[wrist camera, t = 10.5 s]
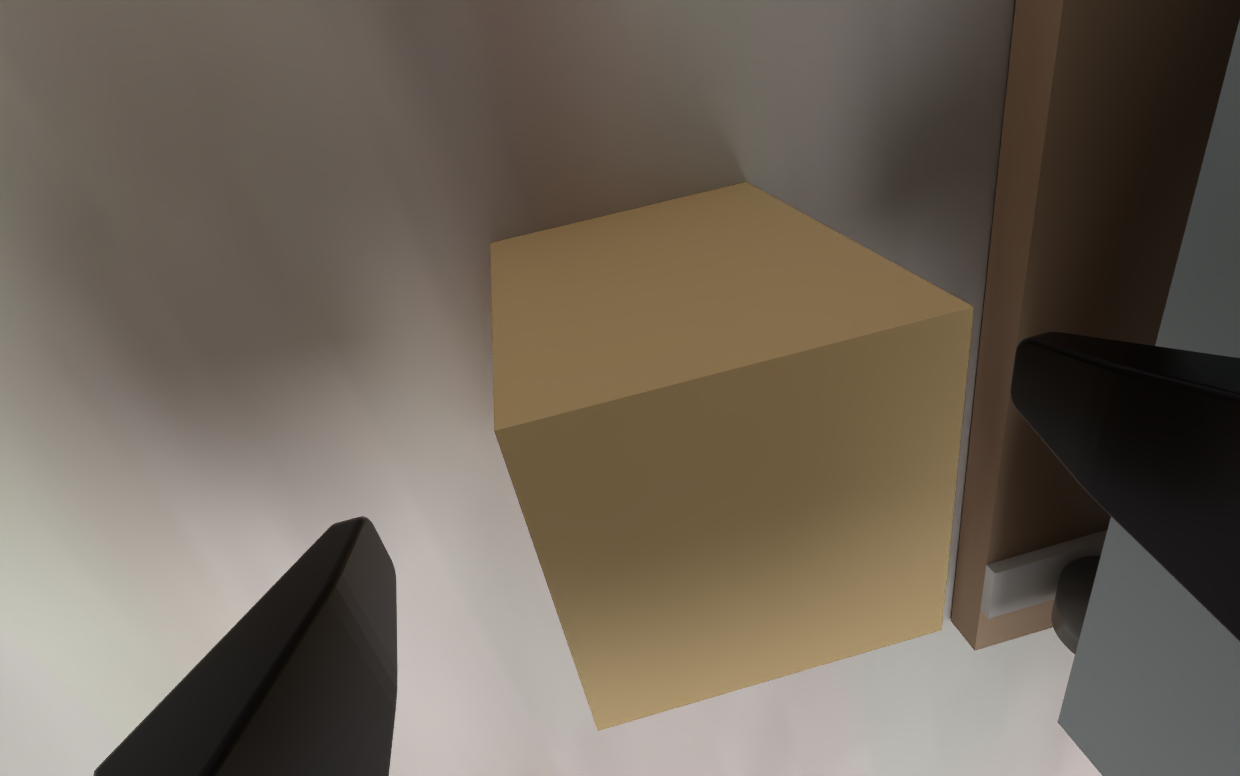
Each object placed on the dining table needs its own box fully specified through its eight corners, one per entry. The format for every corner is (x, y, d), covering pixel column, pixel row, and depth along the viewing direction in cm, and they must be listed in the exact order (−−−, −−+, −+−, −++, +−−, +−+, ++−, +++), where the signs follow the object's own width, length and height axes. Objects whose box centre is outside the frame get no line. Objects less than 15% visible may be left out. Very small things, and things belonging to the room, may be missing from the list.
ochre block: (745, 181, 11) (973, 306, 6) (764, 400, 13) (941, 630, 8) (490, 242, 11) (493, 430, 6) (553, 455, 13) (597, 730, 8)
